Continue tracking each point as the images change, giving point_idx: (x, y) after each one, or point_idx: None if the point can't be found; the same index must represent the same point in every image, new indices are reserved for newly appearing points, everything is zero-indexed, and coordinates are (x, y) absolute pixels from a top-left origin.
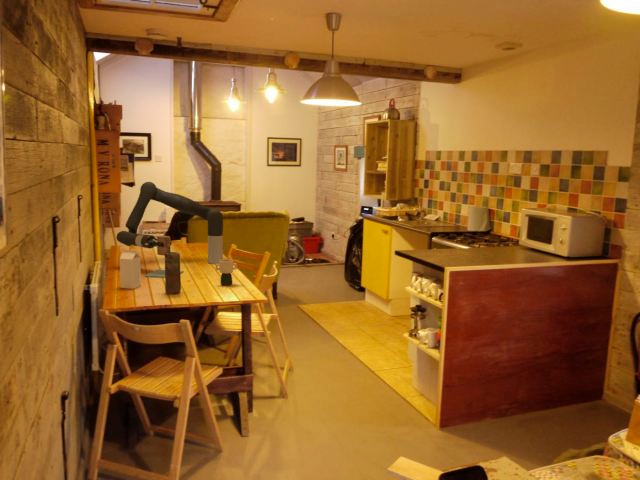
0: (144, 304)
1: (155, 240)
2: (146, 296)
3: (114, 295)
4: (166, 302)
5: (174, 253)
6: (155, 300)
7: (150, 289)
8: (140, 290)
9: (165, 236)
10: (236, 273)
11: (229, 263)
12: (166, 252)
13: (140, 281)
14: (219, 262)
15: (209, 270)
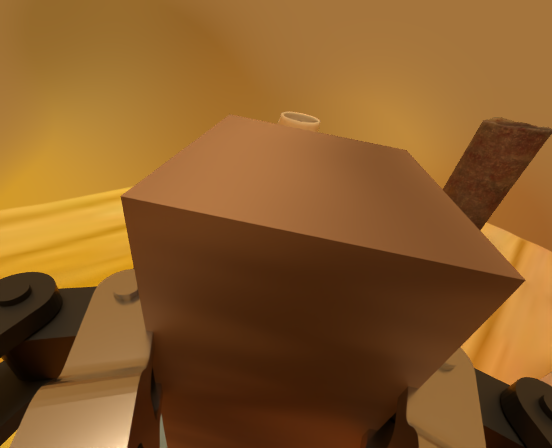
0: (548, 251)
1: None
2: (530, 279)
3: None
4: (490, 226)
5: (504, 124)
6: (512, 247)
7: (494, 312)
8: (540, 337)
9: (264, 149)
10: (131, 187)
11: (307, 121)
12: (543, 129)
13: (545, 376)
14: (314, 129)
15: (59, 266)
